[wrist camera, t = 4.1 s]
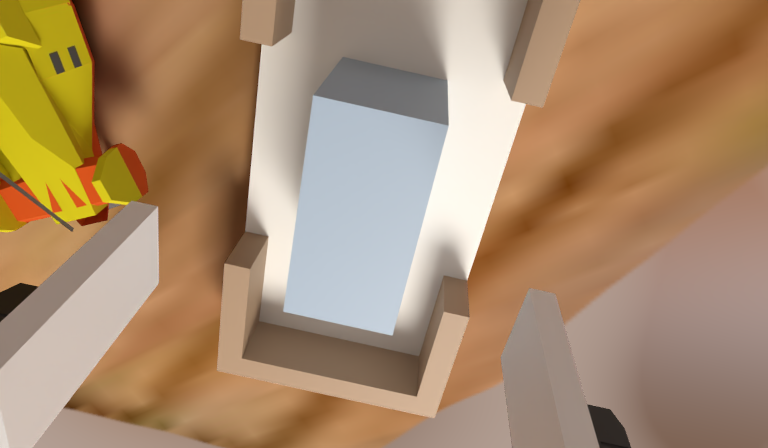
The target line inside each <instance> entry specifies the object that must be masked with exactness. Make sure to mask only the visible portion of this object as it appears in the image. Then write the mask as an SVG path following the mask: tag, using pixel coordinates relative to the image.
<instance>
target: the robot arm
mask: <svg viewBox="0 0 768 448" xmlns="http://www.w3.org/2000/svg"><path fill="white" fill-rule="evenodd" d="M158 284H159V249H158V206H153V205H149V204H144V203H140V202H135V201H131V202H130V203H129V204H127V205H126V206H125V207H124V208H123V209H122V210H121V211H120V212H119V213H118V214H117V215H116V216H115V217H113V218H112V219H111V220H110V221H109V222H108V223H107V224H106V225H105V226H104V227H103V228H102V229H100V230H99V231H98V232H97V233H96V234H95V235H94V236H93V237H92V238H91V239H90V240H89V241H88V242H86V243H85V244H84V245H83V246H82V247H81V248H80V249H79V250H78V251H77V252H76V253H75V254H73V255H72V256H71V257H70V258H69V259H68V260H67V261H66V262H65V263H64V264H63V265H62V266H61V267H59V268H58V269H57V270H56V271H55V272H54V273H53V274H52V275H51V276H50V277H49V278H48V279H46V280H45V281H44V282H43V283H42V284H41V285H40V286H39V287H37V286H33V285H28V284H23V283H19V284H17V285H15V286H13V287H11V288H9V289H7V290H4V291H2V292H0V448H33V446H34V445H35V444H36V442H37V441H38V440H39V438H40V437H41V436H42V435H43V433H44V432H45V431H46V429H47V428H48V427H49V426H50V424H51V423H52V422H53V420H54V419H55V418H56V416H57V415H58V413H59V412H60V411H61V410H62V409H63V407H64V406H65V405H66V403H67V402H68V401H69V399H70V398H71V397H72V396H73V394H74V393H75V392H76V390H77V389H78V388H79V386H80V385H81V384H82V383H83V381H84V380H85V379H86V377H87V376H88V375H89V373H90V372H91V371H92V370H93V368H94V367H95V366H96V364H97V363H98V362H99V360H100V359H101V358H102V356H103V355H104V354H105V353H106V351H107V350H108V349H109V347H110V346H111V345H112V343H113V342H114V341H115V340H116V338H117V337H118V336H119V334H120V333H121V332H122V330H123V329H124V328H125V327H126V325H127V324H128V323H129V321H130V320H131V319H132V317H133V316H134V315H135V314H136V312H137V311H138V310H139V308H140V307H141V306H142V304H143V303H144V302H145V301H146V299H147V298H148V297H149V295H150V294H151V293H152V291H153V290H154V289H155V287H156V286H157V285H158ZM501 364H502V372H503V380H504V388H505V396H506V404H507V412H508V420H509V427H510V436H511V443H512V448H631V447H630V443H629V440H628V437H627V434H626V432H625V429H624V427H623V426H622V425H621V423H620V422H619V421H618V419H617V418H616V417H615V415H614V414H613V413H612V411H611V410H610V409H606V408H601V407H596V406H592V405H587V403H586V399H585V395H584V392H583V389H582V385H581V382H580V378H579V375H578V372H577V368H576V364H575V361H574V357H573V354H572V351H571V347H570V344H569V340H568V337H567V333H566V330H565V326H564V323H563V319H562V316H561V312H560V309H559V305H558V302H557V298H556V295H555V294H554V293H549V292H545V291H540V290H536V289H531V288H529V290H528V293H527V295H526V297H525V300H524V302H523V305H522V307H521V309H520V312H519V314H518V317H517V319H516V322H515V324H514V326H513V329H512V331H511V334H510V336H509V338H508V341H507V343H506V346H505V348H504V351H503V353H502V355H501Z"/></svg>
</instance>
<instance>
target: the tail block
mask: <svg viewBox="0 0 768 448" xmlns="http://www.w3.org/2000/svg"><path fill="white" fill-rule="evenodd" d="M448 127H449V117H448V80H443V79H439V78H434V77H430V76H425V75H421V74H417V73H412V72H408V71H403V70H399V69H394V68H390V67H386V66H381V65H377V64H372V63H368V62H363V61H359V60H355V59H350V58H346V57H342V59H341V60H340V61H339V62H338V64H337V65H336V66H335V68H334V69H333V70H332V72H331V73H330V74H329V75H328V77H327V78H326V79H325V81H324V82H323V83H322V84H321V86H320V87H319V88H318V90H317V91H316V92H315V94H314V95H313V100H312V107H311V115H310V122H309V129H308V136H307V143H306V151H305V158H304V165H303V172H302V180H301V187H300V194H299V201H298V208H297V216H296V223H295V230H294V237H293V244H292V252H291V259H290V266H289V273H288V280H287V288H286V295H285V302H284V309H283V312H287V313H292V314H296V315H301V316H305V317H310V318H315V319H319V320H324V321H328V322H333V323H337V324H342V325H346V326H351V327H355V328H360V329H365V330H369V331H374V332H378V333H383V334H387V335H393V332H394V328H395V324H396V320H397V317H398V313H399V309H400V306H401V302H402V298H403V294H404V291H405V287H406V283H407V279H408V276H409V272H410V268H411V264H412V261H413V257H414V253H415V250H416V246H417V242H418V238H419V235H420V231H421V227H422V223H423V220H424V216H425V212H426V209H427V205H428V201H429V197H430V194H431V190H432V186H433V182H434V179H435V175H436V171H437V168H438V164H439V160H440V156H441V153H442V149H443V145H444V141H445V138H446V134H447V130H448Z"/></svg>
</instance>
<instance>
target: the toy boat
mask: <svg viewBox="0 0 768 448" xmlns="http://www.w3.org/2000/svg"><path fill="white" fill-rule="evenodd" d="M94 64H95V61H94V59H93V56H92V53H91V50H90V48H89V45H88V42H87V39H86V36H85V34H84V31H83V28H82V25H81V23H80V20H79V17H78V14H77V11H76V9H75V6H74V4H73V2H72V0H0V232H11V231H16V230H17V229H19V228H21V227H22V226H24V225H25V224H27V223H28V222H30V221H34V220H38V219H43V218H47V217H52V218H53V220H54V221H55V222H56V224H60V223H61V224H62V225H64V226H65V227H66V228H68V229H69V230H70V231H72V232H73V229H74V228H73V227H71V226H70V225H69V224H67V223H66V222H69V221H73V220H77V221H78V223H79V224H80V225H81V226H84V225H88V224H93V223H97V222H101V221H106V220H107V219H108V210H109V209H111V208H113V207H116V206H119V205H121V204H123V205H127V204H129V203H130V202H131V201H135V202H136V201H137V200H138V199H140V198H141V197H142V196H143V195H145V194H146V193H147V192H148V186H147V179H146V172H145V170H144V168H143V166H142V164H141V162H140V160H139V158H138V156H137V154H136V152H135V151H134V150H132V149H130V148H129V147H127V146H125V145H124V144H122V143H120V144H116V145H113V146H112V147H111V148H110V149H108V150H107V151H106V152H105V153H104V154H103V155H102V151H101V148H100V144H99V140H98V136H97V132H96V128H95V124H94Z"/></svg>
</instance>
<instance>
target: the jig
mask: <svg viewBox="0 0 768 448" xmlns="http://www.w3.org/2000/svg"><path fill="white" fill-rule="evenodd" d="M579 3H580V0H243V1H242V16H241V30H240V40H245V41H249V42H254V43H258V44H262V47H261V58H260V70H259V81H258V92H257V104H256V115H255V126H254V138H253V149H252V160H251V172H250V183H249V194H248V206H247V217H246V228H245V232H244V234H243V236H242V237H241V239H240V240H239V242H238V243H237V245H236V246H235V248H234V249H233V251H232V252H231V254H230V255H229V257H228V259H227V260H226V262H225V263H224V276H223V291H222V305H221V320H220V334H219V348H218V363H217V371H220V372H225V373H230V374H234V375H239V376H243V377H248V378H252V379H257V380H262V381H266V382H271V383H275V384H280V385H284V386H289V387H294V388H298V389H303V390H307V391H312V392H316V393H321V394H326V395H330V396H335V397H339V398H344V399H348V400H353V401H358V402H362V403H367V404H371V405H376V406H380V407H385V408H390V409H394V410H399V411H403V412H408V413H412V414H417V415H422V416H426V417H431V418H435V415H436V412H437V409H438V406H439V403H440V400H441V397H442V395H443V392H444V389H445V386H446V383H447V380H448V377H449V375H450V372H451V369H452V366H453V363H454V360H455V357H456V355H457V352H458V349H459V346H460V343H461V340H462V337H463V335H464V332H465V329H466V326H467V323H468V320H469V303H468V288H467V279H468V276H469V273H470V270H471V267H472V264H473V261H474V258H475V255H476V252H477V249H478V246H479V243H480V240H481V237H482V234H483V231H484V228H485V225H486V222H487V219H488V216H489V213H490V210H491V207H492V204H493V201H494V198H495V195H496V192H497V189H498V186H499V183H500V180H501V177H502V174H503V171H504V168H505V165H506V162H507V159H508V156H509V153H510V150H511V147H512V144H513V141H514V138H515V135H516V132H517V129H518V126H519V123H520V120H521V117H522V114H523V111H524V108H525V105H526V104H528V105H533V106H537V107H542V108H543V106H544V103H545V100H546V97H547V94H548V91H549V88H550V86H551V83H552V80H553V77H554V74H555V71H556V68H557V66H558V63H559V60H560V57H561V54H562V51H563V48H564V46H565V43H566V40H567V37H568V34H569V31H570V28H571V25H572V23H573V20H574V17H575V14H576V11H577V8H578V5H579ZM342 57H346V58H350V59H355V60H359V61H363V62H368V63H372V64H377V65H381V66H386V67H390V68H394V69H399V70H403V71H408V72H412V73H417V74H421V75H425V76H430V77H434V78H439V79H443V80H448V117H449V127H448V130H447V134H446V138H445V141H444V145H443V149H442V153H441V156H440V160H439V164H438V168H437V171H436V175H435V179H434V182H433V186H432V190H431V194H430V197H429V201H428V205H427V209H426V212H425V216H424V220H423V223H422V227H421V231H420V235H419V238H418V242H417V246H416V250H415V253H414V257H413V261H412V264H411V268H410V272H409V276H408V279H407V283H406V287H405V291H404V294H403V298H402V302H401V306H400V309H399V313H398V317H397V320H396V324H395V328H394V332H393V335H387V334H383V333H378V332H374V331H369V330H365V329H360V328H355V327H351V326H346V325H342V324H337V323H333V322H328V321H324V320H319V319H315V318H310V317H305V316H301V315H296V314H292V313H287V312H283V309H284V302H285V295H286V288H287V280H288V273H289V266H290V259H291V252H292V244H293V237H294V230H295V223H296V216H297V208H298V201H299V194H300V187H301V180H302V172H303V165H304V158H305V151H306V143H307V136H308V129H309V122H310V115H311V107H312V100H313V95H314V94H315V92H316V91H317V90H318V88H319V87H320V86H321V84H322V83H323V82H324V81H325V79H326V78H327V77H328V75H329V74H330V73H331V72H332V70H333V69H334V68H335V66H336V65H337V64H338V62H339V61H340V60H341V59H342Z"/></svg>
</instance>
